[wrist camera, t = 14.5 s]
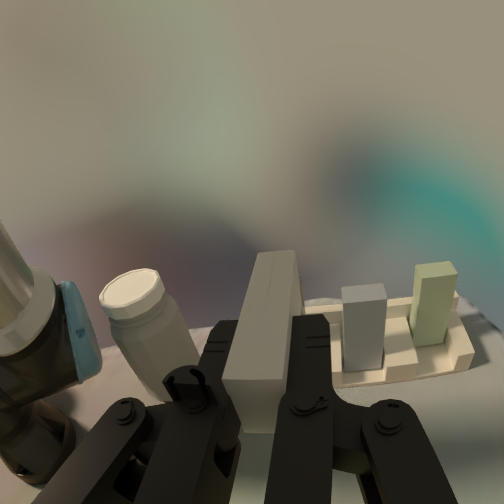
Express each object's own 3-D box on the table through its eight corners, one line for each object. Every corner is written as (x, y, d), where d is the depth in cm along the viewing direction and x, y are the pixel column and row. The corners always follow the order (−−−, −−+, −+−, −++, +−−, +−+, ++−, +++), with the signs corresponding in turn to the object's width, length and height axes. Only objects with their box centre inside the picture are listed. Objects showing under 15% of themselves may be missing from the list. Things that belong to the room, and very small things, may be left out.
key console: (468, 369, 33) (479, 339, 30) (249, 390, 41) (239, 362, 38) (449, 320, 42) (455, 290, 39) (260, 338, 50) (253, 310, 47)
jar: (138, 398, 42) (79, 307, 34) (165, 354, 50) (122, 264, 42) (192, 412, 39) (137, 314, 30) (217, 362, 47) (178, 263, 38)
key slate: (380, 368, 38) (387, 298, 32) (344, 371, 39) (343, 303, 33) (378, 352, 40) (382, 283, 35) (343, 355, 41) (341, 287, 36)
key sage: (442, 342, 38) (457, 274, 32) (411, 347, 39) (421, 278, 33) (437, 328, 40) (449, 261, 35) (407, 333, 42) (415, 264, 36)
